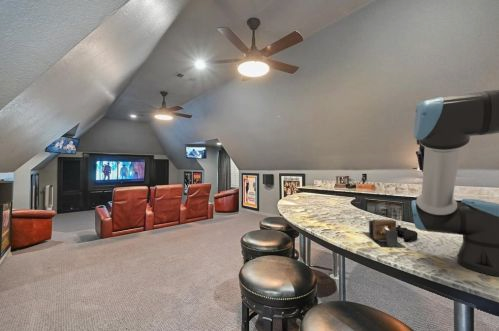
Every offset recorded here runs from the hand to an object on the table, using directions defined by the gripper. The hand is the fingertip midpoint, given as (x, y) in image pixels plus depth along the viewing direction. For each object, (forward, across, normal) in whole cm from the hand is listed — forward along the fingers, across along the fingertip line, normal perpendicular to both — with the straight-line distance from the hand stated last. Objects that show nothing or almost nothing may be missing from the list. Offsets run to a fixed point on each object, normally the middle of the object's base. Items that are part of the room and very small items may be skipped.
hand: (427, 185), depth 103 cm
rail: (+26, +2, +20) cm, 33 cm away
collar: (+26, -1, +20) cm, 33 cm away
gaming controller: (+27, +6, +8) cm, 29 cm away
